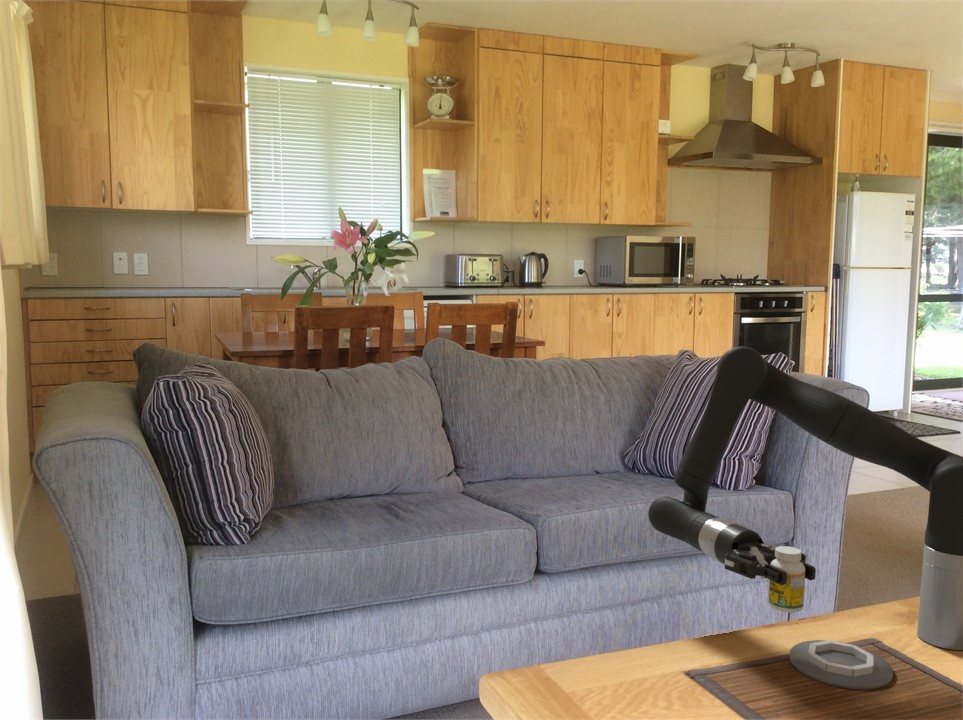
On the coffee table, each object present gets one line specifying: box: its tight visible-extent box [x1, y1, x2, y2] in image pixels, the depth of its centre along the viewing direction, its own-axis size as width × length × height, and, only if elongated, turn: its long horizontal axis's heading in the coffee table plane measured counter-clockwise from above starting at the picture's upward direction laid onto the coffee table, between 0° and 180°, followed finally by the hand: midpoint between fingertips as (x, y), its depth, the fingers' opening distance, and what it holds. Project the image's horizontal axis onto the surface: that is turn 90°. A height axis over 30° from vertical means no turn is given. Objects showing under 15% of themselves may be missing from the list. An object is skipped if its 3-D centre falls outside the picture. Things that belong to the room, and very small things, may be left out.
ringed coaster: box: [789, 639, 894, 690], centre depth 142 cm, size 16×16×2 cm
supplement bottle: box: [768, 545, 806, 614], centre depth 138 cm, size 5×5×10 cm
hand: (799, 576), depth 135 cm, fingers closed on supplement bottle, 5 cm apart
